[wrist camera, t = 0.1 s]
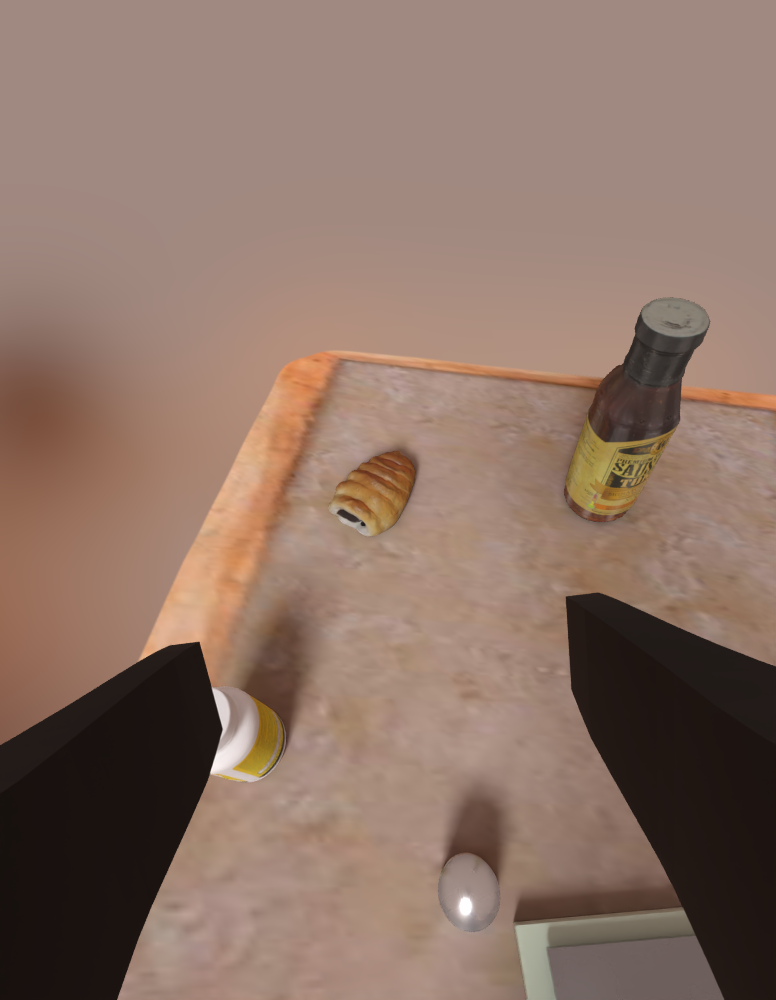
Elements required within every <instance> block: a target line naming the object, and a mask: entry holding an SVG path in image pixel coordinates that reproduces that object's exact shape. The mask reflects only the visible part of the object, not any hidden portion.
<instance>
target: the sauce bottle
mask: <svg viewBox="0 0 776 1000" xmlns="http://www.w3.org/2000/svg"><path fill="white" fill-rule="evenodd" d="M709 324H710V319H709V316H708V314H707V312H706V311H705V309H703V308H702V307H701V306H700V305H698V304H696V303H694V302H691V301H689V300H685V299H681V298H673V297H672V298H671V297H670V298H660V299H656V300H653V301H651V302H650V303H648V304H646V305H645V306H644V307H643V308H642V310H641V312H640V315H639V317H638V320H637V323H636V326H635V333H636V334H635V337H634V339H633V343H632V345H631V347H630V350H629V352H628V354H627V355H626V357H625V360H624V363H623V364H622V365H618V366H616V368H614V369H613V370H612V371H611V372H610V373H609V374H608V375H607V376H606V377H605V378H604V379H603V381H602V382H601V384H600V385H599V387H598V389H597V392H596V395H595V398H594V401H593V404H592V405H591V407H590V409H589V411H588V414H587V417H586V420H585V423H584V426H583V429H582V432H581V435H580V438H579V441H578V444H577V447H576V450H575V453H574V456H573V459H572V462H571V465H570V468H569V471H568V474H567V477H566V486H565V489H564V493H565V494H564V495H565V498H566V501H567V503H568V505H569V506H570V508H571V509H572V510H573V511H574V512H575V513H576V514H578V515H579V516H581V517H582V518H584V519H588V520H591V521H595V522H606V521H611V520H616V519H617V518H620V517H622V516H623V515H624V514H625V513H626V512H627V511H628V509H629V508H630V507H632V506H633V504H634V503H635V501H636V500H637V498H638V496H639V494H640V492H641V491H642V489H643V487H644V485H645V483H646V482H647V480H648V478H649V476H650V474H651V473H652V471H653V469H654V467H655V465H656V463H657V461H658V460H659V458H660V456H661V455H662V453H663V451H664V449H665V447H666V445H667V443H668V442H669V440H670V438H671V436H672V435H673V433H674V431H675V429H676V427H677V425H678V424H679V421H680V401H681V382H682V377H683V376H684V373H685V367H686V365H687V363H688V361H689V360H690V358H691V356H692V354H693V352H694V349H696V348H697V347H698V346H700V344H701V343H702V342H703V339H704V336H705V335H706V332H707V330H708V328H709Z"/></svg>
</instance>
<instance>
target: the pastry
mask: <svg viewBox="0 0 776 1000" xmlns="http://www.w3.org/2000/svg"><path fill="white" fill-rule="evenodd" d="M414 481H415V470H414V466H413V464H412V462H411V461H410V460H409V459H408V458H407V457H405V456H403V455H402V454H401V453H400V452H398V451H393V452H387V453H385V454H382V455H380V456H375V457H373V458H371V459H370V461H369V462H367V463H362V464H361V465H360V466H359V468H358V469H357V470H354V471H352V472H351V473H350V474H349V477H348V479H347V481H344V482H341V483H339V484H338V486H337V487H336V492H335V495H334V498H333V499H332V502H331V503H329V506H328V508H329V510H330V513H332V514H334V515H335V516H336V517H338V518H339V521H341V522H342V523H343V524H345V525H348V526H350V527H353V528H356V529H357V530H358V532H359V533H361V534H363V535H365V536H368V537H371V536H376V535H378V534H380V533H382V532H384V531H386V530H388V529H389V528H391V527H392V526H393V525H394V524H395V523H396V521H397V520H398V519H399V517H400V515H401V512H402V511H403V509H404V507H405V505H406V503H407V500H408V498H409V495H410V492H411V489H412V487H413V484H414Z"/></svg>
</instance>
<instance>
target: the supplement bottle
mask: <svg viewBox="0 0 776 1000" xmlns="http://www.w3.org/2000/svg"><path fill="white" fill-rule="evenodd" d="M212 691H213V694H214V698H215V702H216V706H217V709H218V713H219V717H220V720H221V724H222V728H223V731H222V734H221V738H220V742H219V745H218V749H217V752H216V756H215V759H214V762H213V766H212V769H211V772H210V774H211V775H215V776H219V777H223V778H227V779H230V780H234V781H239V782H253V781H257V780H260V779H262V778H264V777H265V776H267V775H268V774H269V773H270V772H272V771H273V769H274V768H275V767H276V766H277V765H278V763H279V762H280V760H281V758H282V756H283V753H284V750H285V745H286V732H285V727H284V724H283V722H282V720H281V718H280V717H279V716H278V714H277V713H276V712H274V711H273V710H272V709H271V708H269V707H267V706H266V705H264V704H263V703H261V702H260V701H258V700H257V699H255V698H254V697H252V696H251V695H249V694H248V693H246V692H244V691H242V690H240V689H238V688H235V687H230V686H221V687H216V688H215V687H212Z"/></svg>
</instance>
